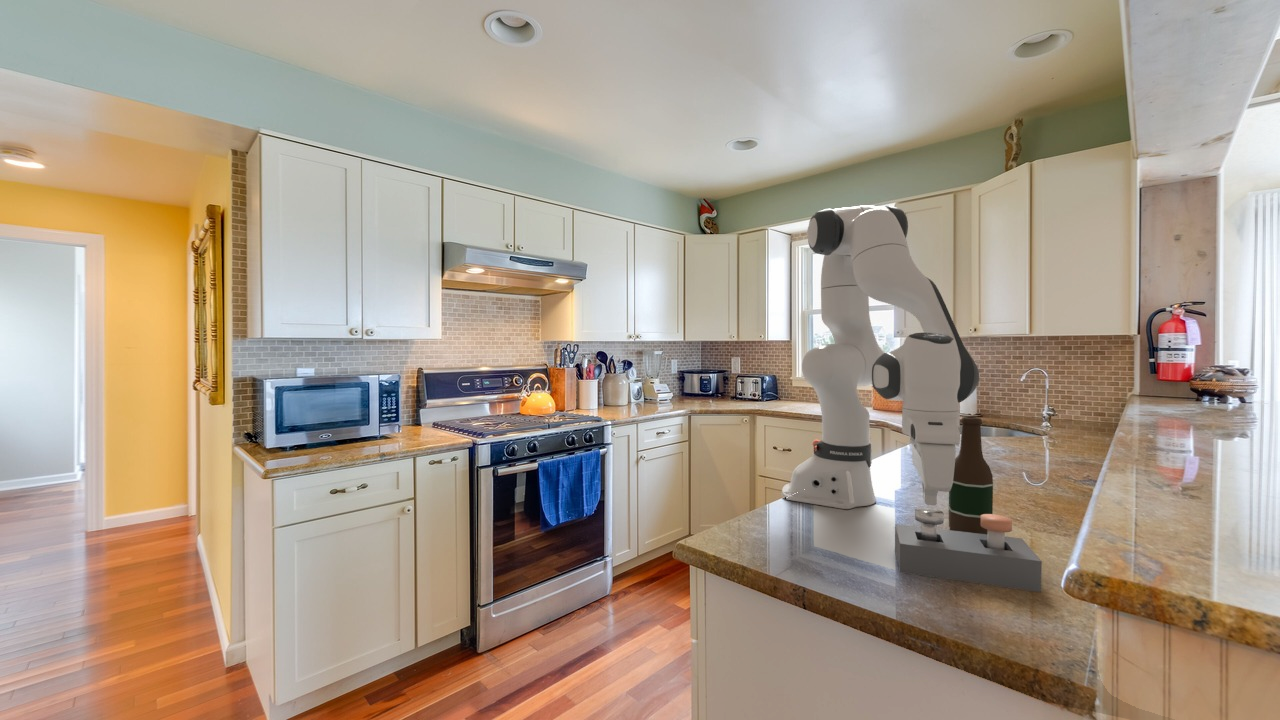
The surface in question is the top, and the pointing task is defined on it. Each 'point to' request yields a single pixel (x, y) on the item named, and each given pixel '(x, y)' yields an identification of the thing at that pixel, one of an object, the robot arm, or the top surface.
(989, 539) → the mushroom push button
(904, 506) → the top surface
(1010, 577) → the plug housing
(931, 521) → the grey mushroom plug
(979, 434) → the beer bottle
